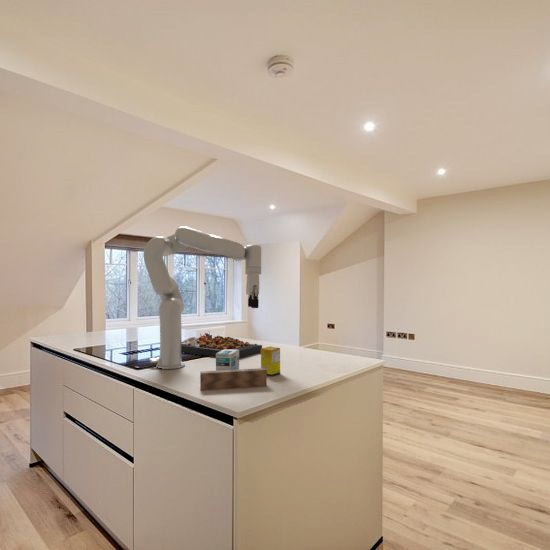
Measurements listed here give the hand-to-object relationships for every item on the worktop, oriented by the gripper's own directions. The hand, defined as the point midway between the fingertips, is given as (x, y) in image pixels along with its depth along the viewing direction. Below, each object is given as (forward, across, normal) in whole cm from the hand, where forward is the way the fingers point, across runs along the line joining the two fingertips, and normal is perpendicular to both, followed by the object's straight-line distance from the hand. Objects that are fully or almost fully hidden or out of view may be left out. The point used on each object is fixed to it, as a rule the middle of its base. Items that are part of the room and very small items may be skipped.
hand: (253, 307), depth 173 cm
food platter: (+28, -37, -14) cm, 48 cm away
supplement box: (+27, +20, +4) cm, 34 cm away
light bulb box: (+27, +22, -14) cm, 37 cm away
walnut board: (+27, +36, -13) cm, 47 cm away
